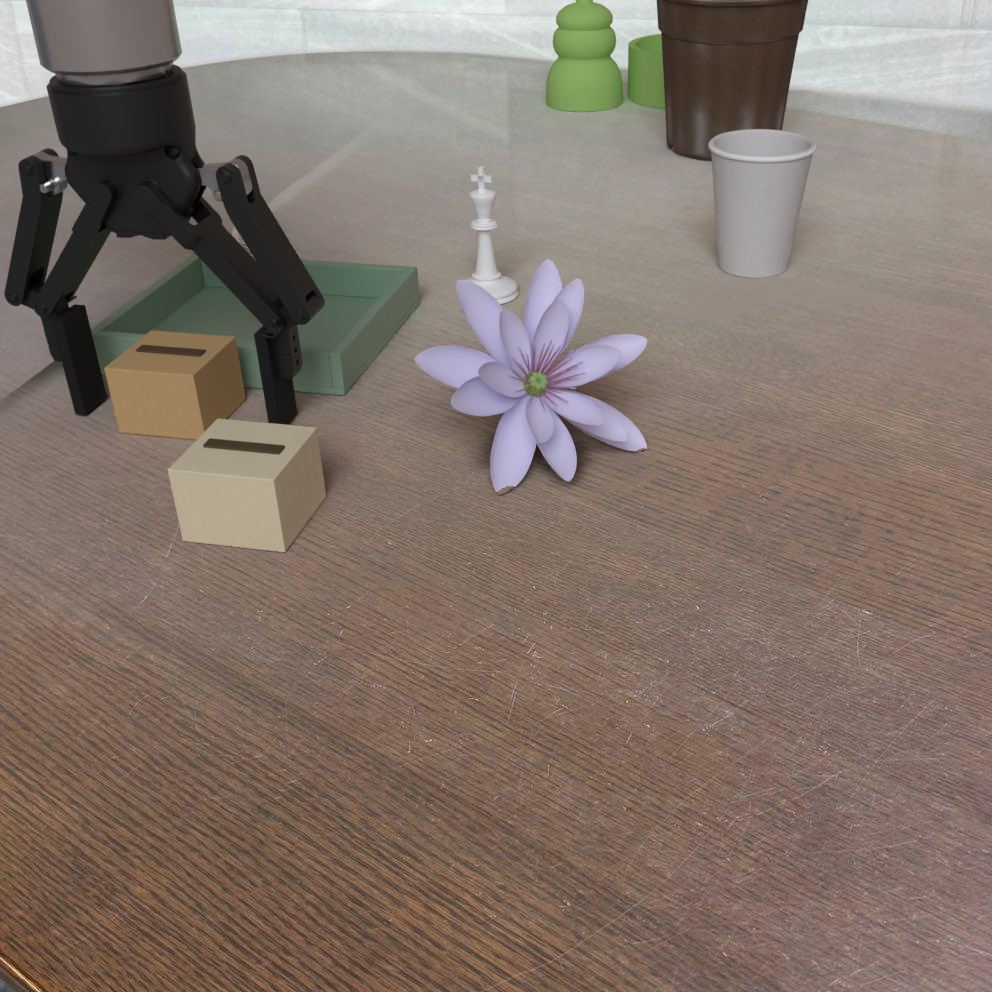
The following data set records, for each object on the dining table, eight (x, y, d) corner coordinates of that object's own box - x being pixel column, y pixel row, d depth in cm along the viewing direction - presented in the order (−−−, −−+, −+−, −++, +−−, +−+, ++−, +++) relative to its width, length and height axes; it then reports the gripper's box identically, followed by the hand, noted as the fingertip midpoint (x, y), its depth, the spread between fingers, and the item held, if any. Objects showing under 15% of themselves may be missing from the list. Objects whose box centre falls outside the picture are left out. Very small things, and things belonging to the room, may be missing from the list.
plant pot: (785, 173, 121) (801, 0, 112) (630, 162, 126) (634, -6, 117) (809, 133, 134) (824, -25, 125) (667, 124, 138) (673, -29, 130)
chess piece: (504, 309, 92) (499, 178, 87) (446, 302, 94) (437, 173, 88) (527, 286, 96) (524, 160, 91) (470, 280, 98) (464, 155, 92)
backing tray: (93, 374, 84) (83, 334, 82) (201, 288, 97) (194, 252, 96) (344, 395, 80) (339, 354, 78) (420, 303, 94) (417, 266, 92)
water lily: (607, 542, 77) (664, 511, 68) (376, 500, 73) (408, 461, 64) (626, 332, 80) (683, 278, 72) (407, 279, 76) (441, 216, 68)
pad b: (118, 433, 76) (102, 365, 74) (164, 392, 81) (150, 327, 79) (205, 441, 75) (192, 373, 73) (246, 399, 80) (235, 334, 77)
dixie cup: (690, 277, 97) (696, 151, 92) (716, 244, 104) (723, 125, 98) (793, 289, 95) (805, 160, 89) (813, 254, 101) (826, 132, 96)
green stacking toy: (723, 79, 157) (729, -26, 151) (761, 104, 145) (769, -9, 139) (536, 92, 154) (533, -16, 147) (559, 119, 142) (557, 3, 135)
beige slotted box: (182, 541, 65) (166, 466, 63) (230, 486, 70) (216, 415, 68) (285, 553, 64) (273, 477, 62) (326, 496, 69) (316, 424, 66)
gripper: (351, 59, 67) (387, 402, 78) (-41, 52, 72) (46, 375, 84) (299, 89, 61) (346, 457, 72) (-126, 79, 66) (-19, 424, 77)
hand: (186, 414), depth 78 cm, fingers open, 13 cm apart
